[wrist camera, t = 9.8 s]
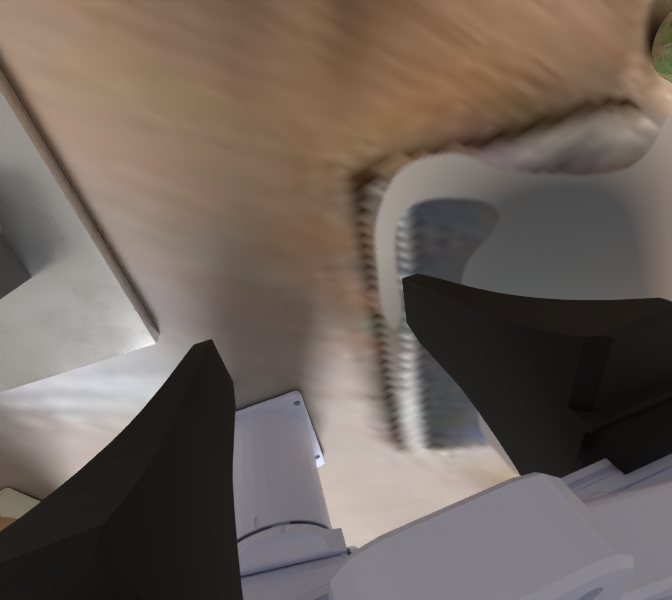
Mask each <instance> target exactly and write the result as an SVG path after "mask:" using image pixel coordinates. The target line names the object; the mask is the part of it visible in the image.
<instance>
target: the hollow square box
mask: <svg viewBox="0 0 672 600" xmlns="http://www.w3.org/2000/svg"><path fill="white" fill-rule="evenodd" d="M29 279H31V276H30V275H29V274H28V272H27V271H26V270H25V268H24V267H23V266H22V264H21V263H20V262H19V261H18V259H17V258H16V257H15V255H14V254H13V253H12V251H11V250H10V249H9V247H8V246H7V245H6V243H5V242H4V241H3V240H2V238H1V237H0V299H1V298H3V297H4V296H6V295H7V294H9V293H10V292H12V291H13V290H15V289H16V288H17V287H19V286H20V285H22V284H23V283H25V282H26V281H28V280H29Z"/></svg>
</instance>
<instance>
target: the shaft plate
mask: <svg viewBox="0 0 672 600" xmlns="http://www.w3.org/2000/svg"><path fill="white" fill-rule="evenodd" d="M0 237H1V238H2V240H3V241H4V242H5V243H6V245H7V246H8V247H9V249H10V250H11V251H12V253H13V254H14V255H15V257H16V258H17V259H18V261H19V262H20V263H21V264H22V266H23V267H24V268H25V270H26V271H27V272H28V274H29V275H30V276H31V279H29V280H28V281H26V282H25V283H23V284H22V285H20V286H19V287H17V288H16V289H15V290H13V291H12V292H10V293H9V294H7V295H6V296H4V297H3V298H1V299H0V392H3V391H6V390H9V389H12V388H16V387H19V386H22V385H25V384H28V383H32V382H35V381H38V380H41V379H44V378H48V377H51V376H54V375H57V374H60V373H64V372H67V371H70V370H73V369H76V368H80V367H83V366H86V365H89V364H92V363H96V362H99V361H102V360H105V359H108V358H112V357H115V356H118V355H121V354H124V353H128V352H131V351H134V350H137V349H140V348H144V347H147V346H150V345H153V344H156V343H157V340H158V338H159V335H160V334H159V333H158V331H157V329H156V328H155V326H154V324H153V323H152V321H151V319H150V318H149V316H148V314H147V313H146V311H145V309H144V308H143V306H142V304H141V303H140V301H139V299H138V298H137V296H136V294H135V293H134V291H133V289H132V288H131V286H130V284H129V283H128V281H127V279H126V278H125V276H124V274H123V273H122V271H121V269H120V268H119V266H118V264H117V263H116V261H115V259H114V257H113V256H112V254H111V252H110V251H109V249H108V247H107V246H106V244H105V242H104V241H103V239H102V237H101V236H100V234H99V232H98V231H97V229H96V227H95V226H94V224H93V222H92V221H91V219H90V217H89V216H88V214H87V212H86V211H85V209H84V207H83V206H82V204H81V202H80V201H79V199H78V197H77V196H76V194H75V192H74V191H73V189H72V187H71V186H70V184H69V182H68V181H67V179H66V177H65V175H64V174H63V172H62V170H61V169H60V167H59V165H58V164H57V162H56V160H55V159H54V157H53V155H52V154H51V152H50V150H49V149H48V147H47V145H46V144H45V142H44V140H43V139H42V137H41V135H40V134H39V132H38V130H37V129H36V127H35V125H34V124H33V122H32V120H31V119H30V117H29V115H28V114H27V112H26V110H25V109H24V107H23V105H22V104H21V102H20V100H19V99H18V97H17V95H16V94H15V92H14V90H13V88H12V87H11V85H10V83H9V82H8V80H7V78H6V77H5V75H4V73H3V72H2V70H1V68H0Z"/></svg>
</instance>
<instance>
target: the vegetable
mask: <svg viewBox="0 0 672 600" xmlns="http://www.w3.org/2000/svg"><path fill="white" fill-rule="evenodd" d="M652 63H653V66H654V68H655V70H656V71H657V72H658V74H659V75H660V76H661V77H663V78H664V79H666V80H668V81H670V82H671V83H672V11H671V12H670V13H669V14H668V15H667V17H666V18H665V20H664V21H663V23H662V24H661V26H660V27H659V29H658V31H657V34H656V36H655V39H654V43H653V48H652Z"/></svg>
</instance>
